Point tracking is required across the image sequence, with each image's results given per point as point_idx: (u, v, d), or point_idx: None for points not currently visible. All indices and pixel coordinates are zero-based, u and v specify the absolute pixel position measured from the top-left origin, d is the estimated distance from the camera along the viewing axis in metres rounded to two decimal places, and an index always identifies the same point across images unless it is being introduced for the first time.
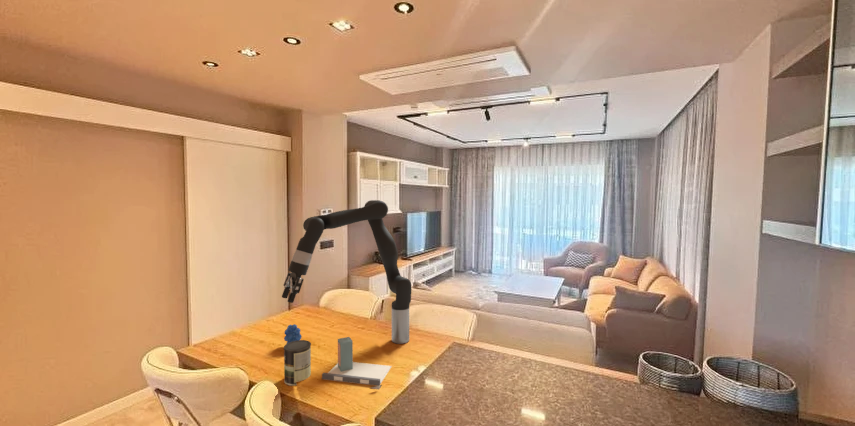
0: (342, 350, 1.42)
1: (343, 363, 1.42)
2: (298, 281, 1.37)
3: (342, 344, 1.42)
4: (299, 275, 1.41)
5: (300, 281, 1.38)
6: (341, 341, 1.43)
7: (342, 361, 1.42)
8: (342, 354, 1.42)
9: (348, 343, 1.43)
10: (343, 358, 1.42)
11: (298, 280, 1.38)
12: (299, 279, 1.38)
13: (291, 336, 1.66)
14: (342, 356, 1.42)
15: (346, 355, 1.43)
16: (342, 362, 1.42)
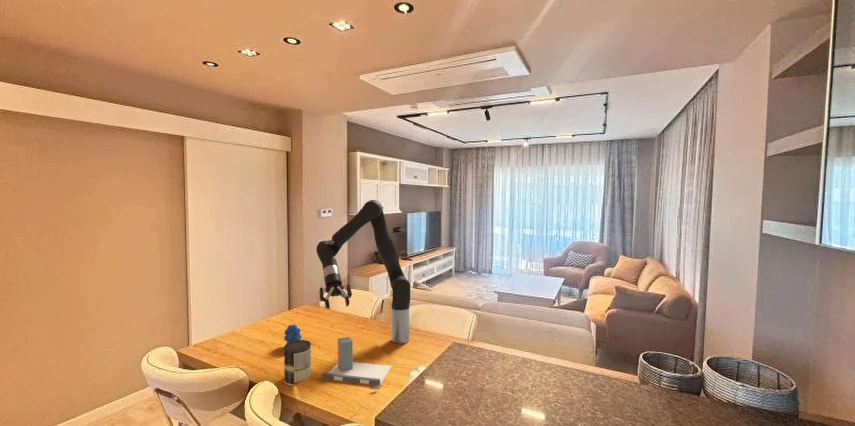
0: (342, 350, 1.42)
1: (343, 363, 1.42)
2: (319, 292, 1.57)
3: (342, 344, 1.42)
4: (326, 286, 1.59)
5: (319, 291, 1.57)
6: (341, 341, 1.43)
7: (342, 361, 1.42)
8: (342, 354, 1.42)
9: (348, 343, 1.43)
10: (343, 358, 1.42)
11: (319, 291, 1.57)
12: (319, 290, 1.57)
13: (291, 336, 1.66)
14: (342, 356, 1.42)
15: (346, 355, 1.43)
16: (342, 362, 1.42)
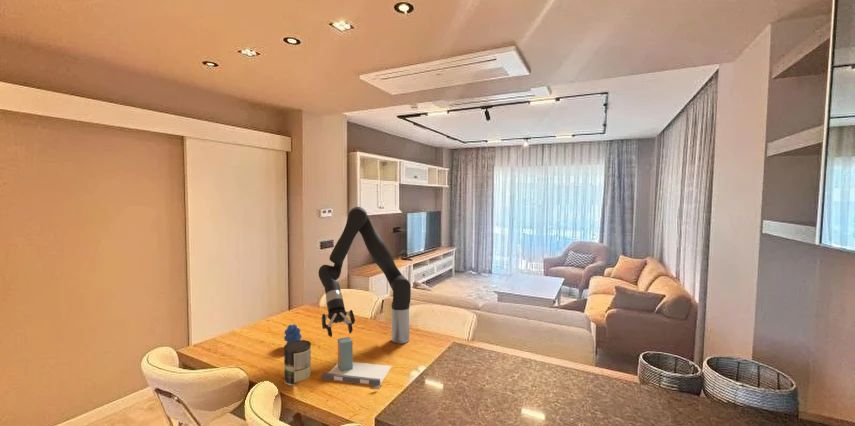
0: (342, 350, 1.42)
1: (343, 363, 1.42)
2: None
3: (342, 344, 1.42)
4: (328, 312, 1.55)
5: (322, 317, 1.52)
6: (341, 341, 1.43)
7: (342, 361, 1.42)
8: (342, 354, 1.42)
9: (348, 343, 1.43)
10: (343, 358, 1.42)
11: None
12: None
13: (291, 336, 1.66)
14: (342, 356, 1.42)
15: (346, 355, 1.43)
16: (342, 362, 1.42)
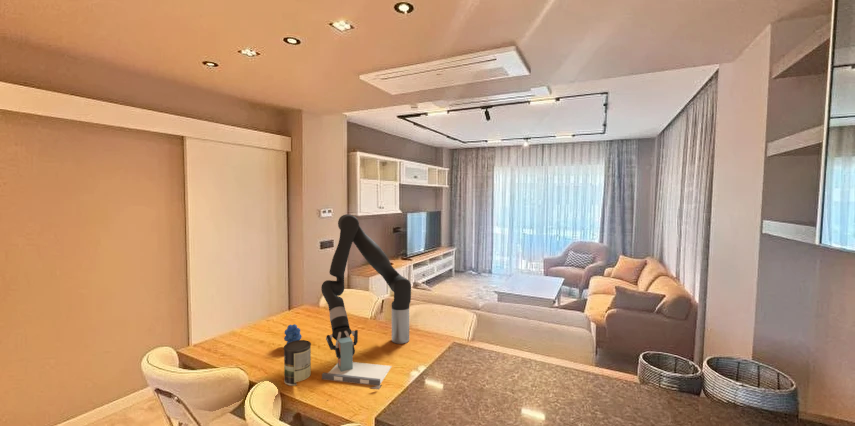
0: (342, 350, 1.42)
1: (343, 363, 1.42)
2: None
3: (342, 344, 1.42)
4: (332, 331, 1.49)
5: (327, 339, 1.45)
6: (341, 341, 1.43)
7: (342, 361, 1.42)
8: (342, 354, 1.42)
9: (348, 343, 1.43)
10: (343, 358, 1.42)
11: (326, 339, 1.46)
12: (326, 338, 1.46)
13: (291, 336, 1.66)
14: (342, 356, 1.42)
15: (346, 355, 1.43)
16: (342, 362, 1.42)
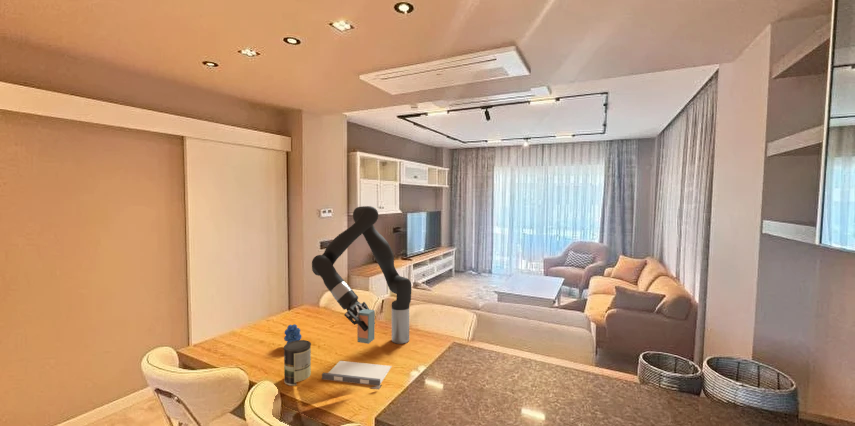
0: (369, 321, 1.36)
1: (370, 334, 1.36)
2: (347, 316, 1.34)
3: (369, 314, 1.36)
4: (347, 307, 1.37)
5: (348, 314, 1.33)
6: (366, 312, 1.36)
7: (369, 332, 1.36)
8: (369, 325, 1.36)
9: (372, 313, 1.38)
10: (370, 329, 1.36)
11: (346, 316, 1.34)
12: (346, 314, 1.34)
13: (291, 336, 1.66)
14: (369, 328, 1.36)
15: (371, 325, 1.38)
16: (369, 333, 1.36)
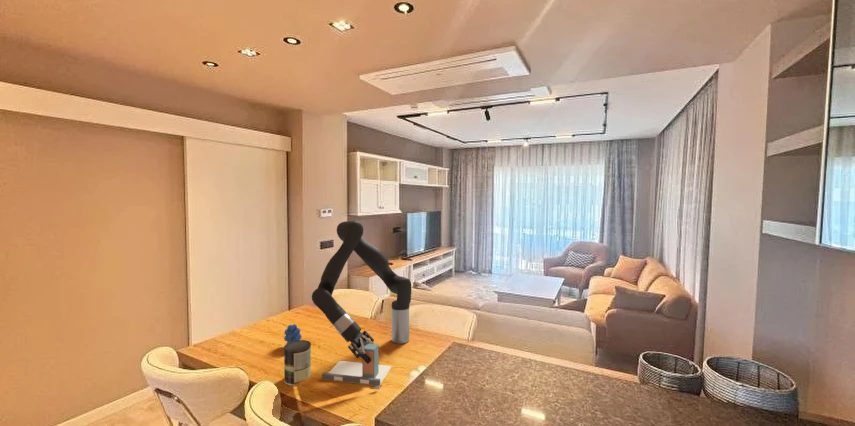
0: (374, 356, 1.36)
1: (375, 370, 1.37)
2: (350, 348, 1.33)
3: (374, 350, 1.36)
4: (351, 340, 1.36)
5: (352, 346, 1.32)
6: (371, 348, 1.36)
7: (374, 368, 1.36)
8: (374, 360, 1.36)
9: (376, 348, 1.39)
10: (375, 365, 1.37)
11: (350, 347, 1.33)
12: (349, 346, 1.33)
13: (291, 336, 1.66)
14: (374, 363, 1.36)
15: (376, 360, 1.38)
16: (374, 369, 1.36)
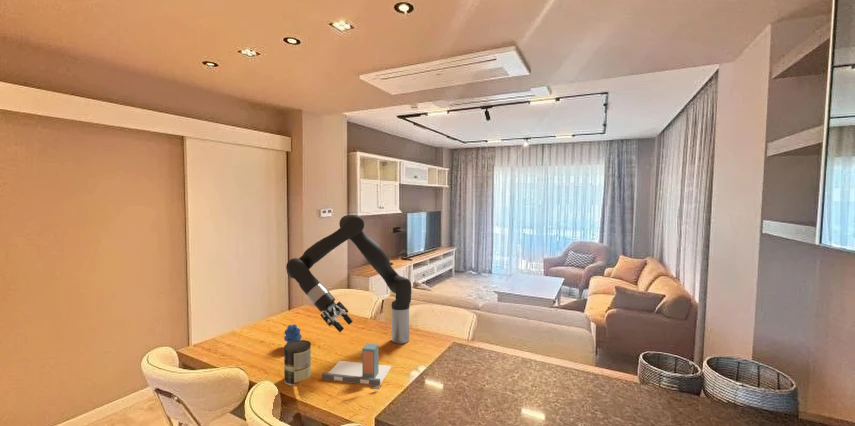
0: (374, 356, 1.36)
1: (375, 370, 1.37)
2: (323, 316, 1.34)
3: (374, 350, 1.36)
4: (324, 309, 1.38)
5: (324, 315, 1.34)
6: (371, 348, 1.36)
7: (374, 368, 1.36)
8: (374, 360, 1.36)
9: (376, 348, 1.39)
10: (375, 365, 1.37)
11: (322, 316, 1.35)
12: (322, 314, 1.35)
13: (291, 336, 1.66)
14: (374, 363, 1.36)
15: (376, 360, 1.38)
16: (374, 369, 1.36)
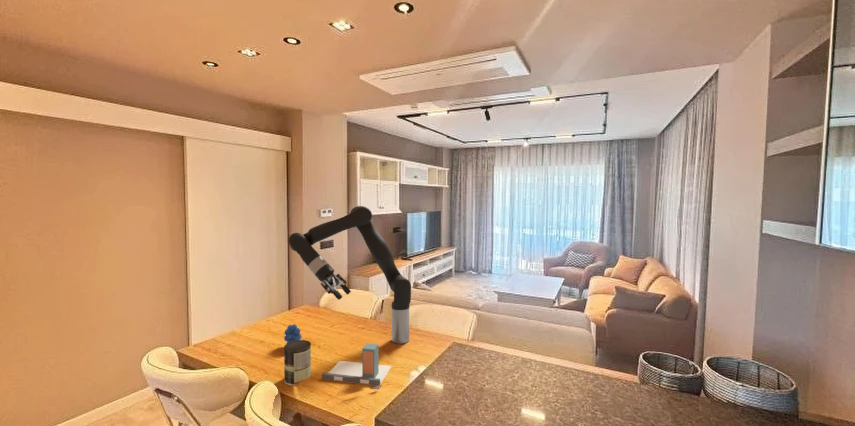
0: (374, 356, 1.36)
1: (375, 370, 1.37)
2: (323, 285, 1.45)
3: (374, 350, 1.36)
4: (324, 278, 1.48)
5: (324, 283, 1.45)
6: (371, 348, 1.36)
7: (374, 368, 1.36)
8: (374, 360, 1.36)
9: (376, 348, 1.39)
10: (375, 365, 1.37)
11: (322, 284, 1.45)
12: (322, 283, 1.45)
13: (291, 336, 1.66)
14: (374, 363, 1.36)
15: (376, 360, 1.38)
16: (374, 369, 1.36)
